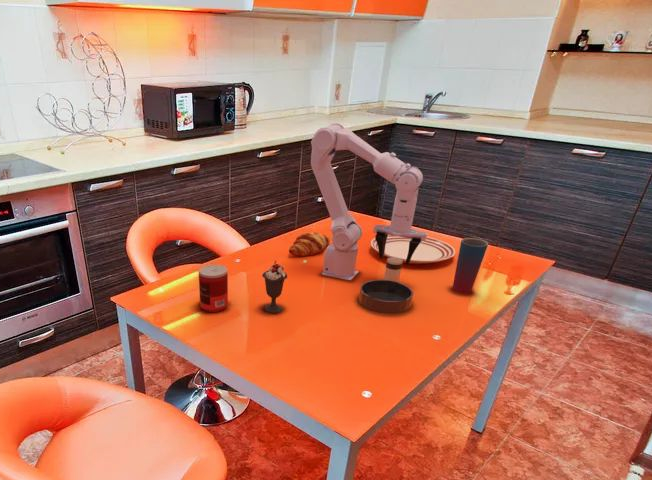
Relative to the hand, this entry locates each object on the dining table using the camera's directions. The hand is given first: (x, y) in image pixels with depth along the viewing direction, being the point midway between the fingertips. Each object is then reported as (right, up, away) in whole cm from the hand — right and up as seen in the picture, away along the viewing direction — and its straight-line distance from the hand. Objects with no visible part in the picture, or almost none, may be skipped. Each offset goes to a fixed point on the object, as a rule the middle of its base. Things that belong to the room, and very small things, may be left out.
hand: (394, 260), depth 140 cm
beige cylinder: (0, -7, +4) cm, 8 cm away
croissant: (-19, +8, +29) cm, 36 cm away
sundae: (-36, -15, -8) cm, 40 cm away
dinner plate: (+14, +6, +25) cm, 29 cm away
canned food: (-53, -14, -6) cm, 55 cm away
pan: (-5, -13, -6) cm, 15 cm away
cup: (+19, -9, 0) cm, 22 cm away
